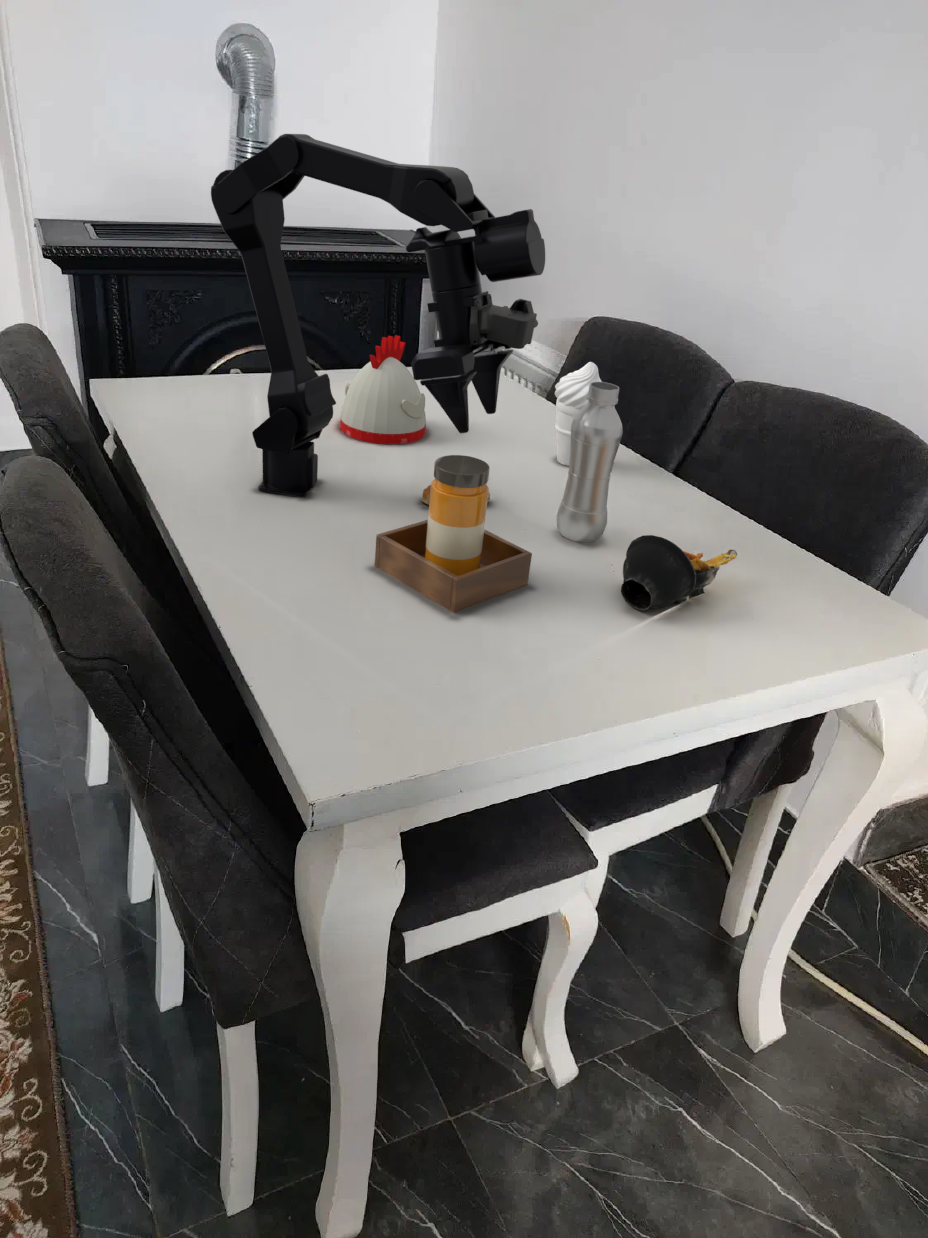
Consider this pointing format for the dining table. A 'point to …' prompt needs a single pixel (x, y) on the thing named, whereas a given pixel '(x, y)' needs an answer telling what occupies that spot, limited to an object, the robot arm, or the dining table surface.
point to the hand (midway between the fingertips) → (478, 422)
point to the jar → (457, 513)
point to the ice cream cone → (571, 405)
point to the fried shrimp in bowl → (666, 572)
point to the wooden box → (407, 564)
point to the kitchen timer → (384, 400)
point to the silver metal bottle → (590, 465)
